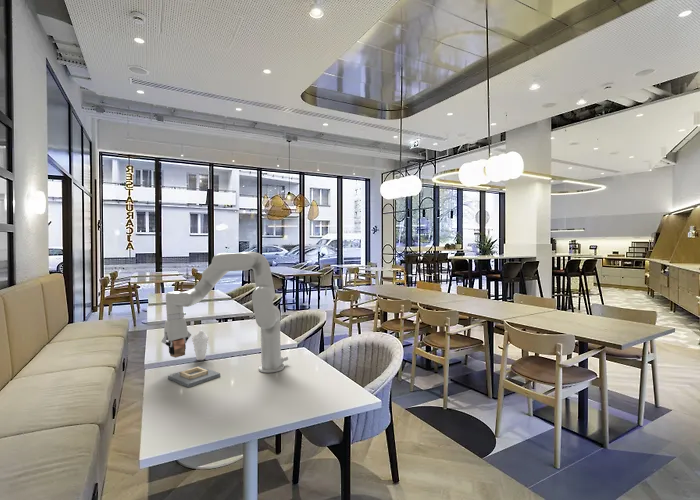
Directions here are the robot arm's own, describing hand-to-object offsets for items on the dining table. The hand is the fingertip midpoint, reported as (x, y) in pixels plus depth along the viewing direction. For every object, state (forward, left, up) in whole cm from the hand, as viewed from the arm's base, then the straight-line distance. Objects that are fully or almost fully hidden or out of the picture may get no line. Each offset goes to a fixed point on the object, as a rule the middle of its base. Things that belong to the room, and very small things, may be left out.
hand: (177, 352), depth 188 cm
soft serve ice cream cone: (-17, -7, -9) cm, 21 cm away
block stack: (0, 0, -2) cm, 2 cm away
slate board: (0, +16, -9) cm, 18 cm away
